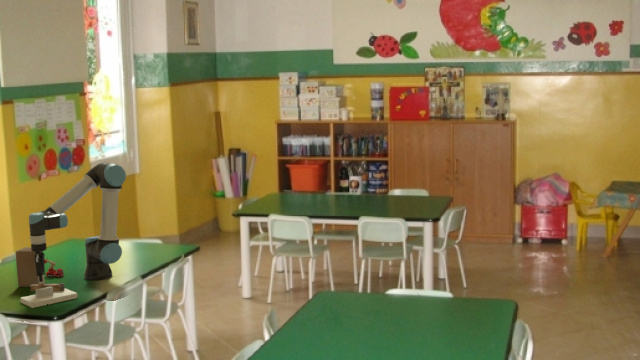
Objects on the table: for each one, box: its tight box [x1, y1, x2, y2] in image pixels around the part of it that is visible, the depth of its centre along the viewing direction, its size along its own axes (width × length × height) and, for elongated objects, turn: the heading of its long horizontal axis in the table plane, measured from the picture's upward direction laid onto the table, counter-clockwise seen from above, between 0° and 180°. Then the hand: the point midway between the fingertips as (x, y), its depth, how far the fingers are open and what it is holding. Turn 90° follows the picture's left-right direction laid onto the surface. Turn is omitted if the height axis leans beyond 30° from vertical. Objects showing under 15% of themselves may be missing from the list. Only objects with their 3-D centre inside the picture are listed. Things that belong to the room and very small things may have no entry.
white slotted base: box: [20, 287, 79, 309], centre depth 436 cm, size 24×14×6 cm, turn 131°
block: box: [15, 246, 39, 288], centre depth 467 cm, size 10×10×20 cm
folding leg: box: [29, 282, 65, 292], centre depth 445 cm, size 17×3×3 cm, turn 89°
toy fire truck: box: [44, 258, 65, 278], centre depth 486 cm, size 3×14×10 cm, turn 71°
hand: (41, 287), depth 448 cm, fingers closed
